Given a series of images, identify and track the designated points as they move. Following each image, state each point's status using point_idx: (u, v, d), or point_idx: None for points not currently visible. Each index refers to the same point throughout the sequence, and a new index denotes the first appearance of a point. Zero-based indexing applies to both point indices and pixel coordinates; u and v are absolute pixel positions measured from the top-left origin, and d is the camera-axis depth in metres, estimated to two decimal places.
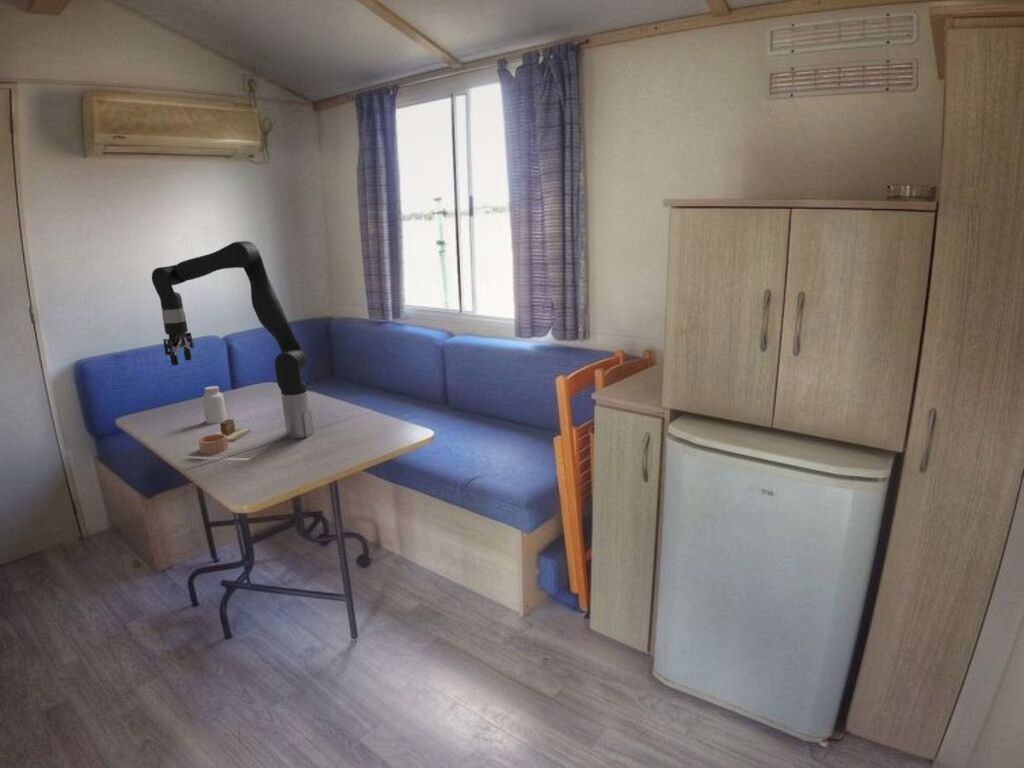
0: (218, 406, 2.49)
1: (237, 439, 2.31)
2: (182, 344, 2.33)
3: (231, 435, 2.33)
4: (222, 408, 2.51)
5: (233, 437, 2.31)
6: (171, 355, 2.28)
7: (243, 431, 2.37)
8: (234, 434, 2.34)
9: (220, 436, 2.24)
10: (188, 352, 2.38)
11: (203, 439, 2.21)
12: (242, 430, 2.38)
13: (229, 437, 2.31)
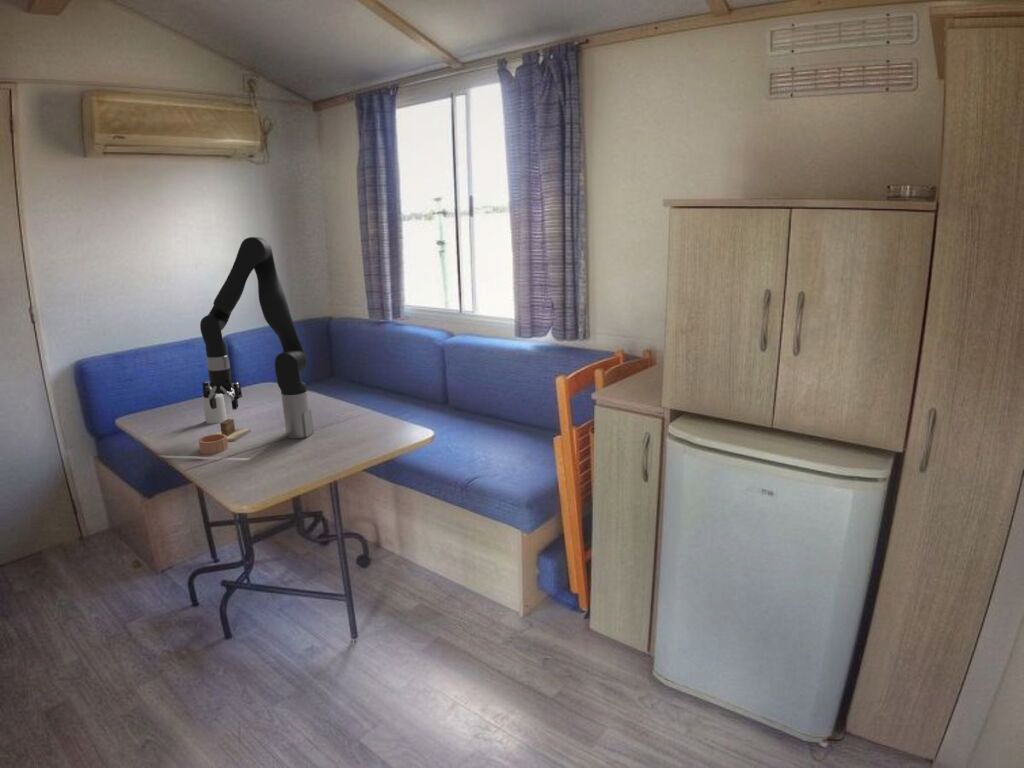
0: (218, 406, 2.49)
1: (237, 439, 2.31)
2: None
3: (231, 435, 2.33)
4: (222, 408, 2.51)
5: (233, 437, 2.31)
6: (237, 399, 2.31)
7: (243, 431, 2.37)
8: (234, 434, 2.34)
9: (220, 436, 2.24)
10: (215, 400, 2.33)
11: (203, 439, 2.21)
12: (242, 430, 2.38)
13: (229, 437, 2.31)
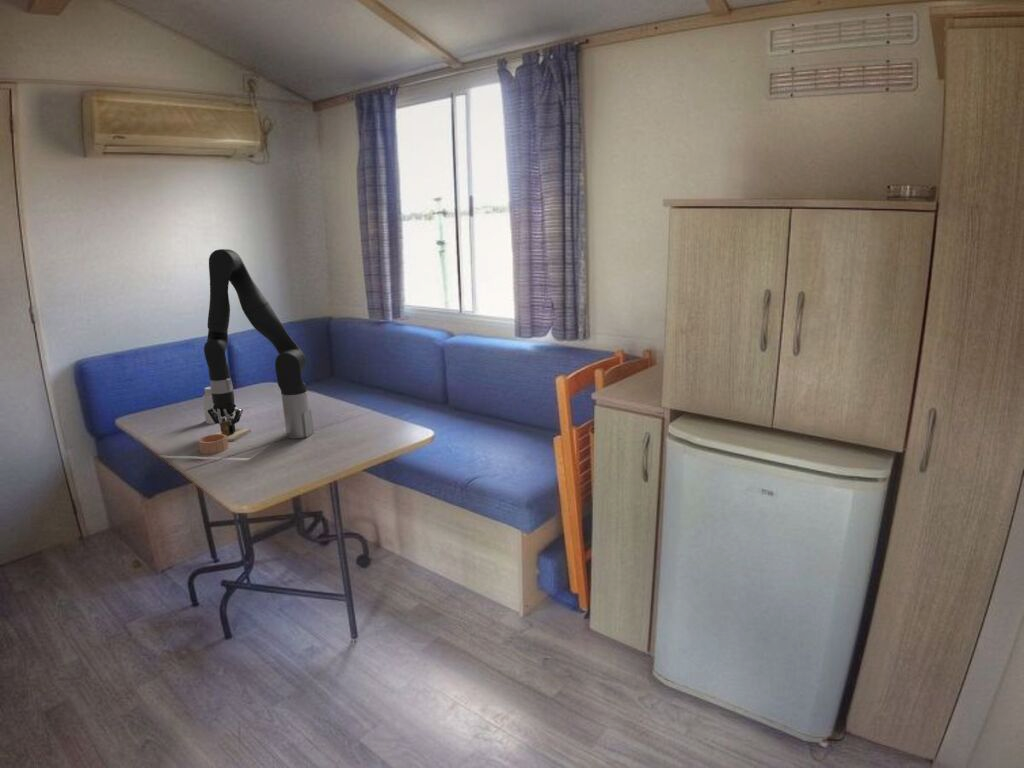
0: None
1: (237, 439, 2.31)
2: None
3: (231, 435, 2.33)
4: None
5: (233, 437, 2.31)
6: (234, 423, 2.34)
7: (243, 431, 2.37)
8: (234, 434, 2.34)
9: (220, 436, 2.24)
10: None
11: (203, 439, 2.21)
12: (242, 430, 2.38)
13: (229, 437, 2.31)
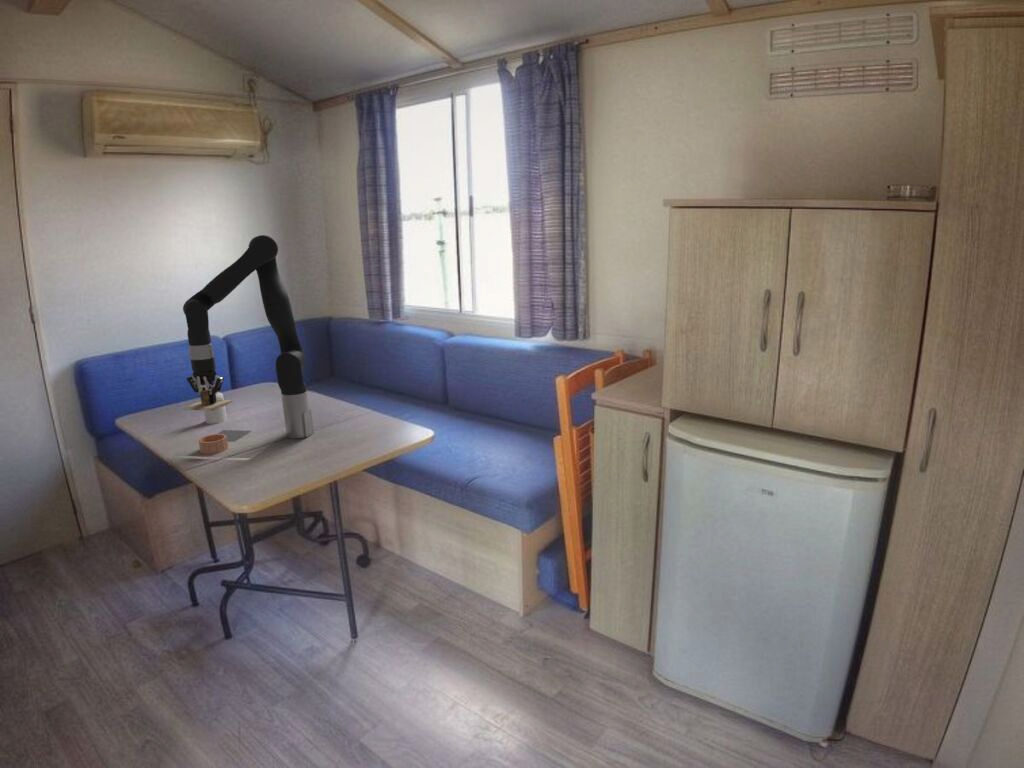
0: None
1: (237, 439, 2.31)
2: None
3: (211, 405, 2.17)
4: (222, 408, 2.51)
5: (213, 407, 2.15)
6: (214, 393, 2.18)
7: (225, 402, 2.21)
8: (215, 404, 2.18)
9: (220, 436, 2.24)
10: None
11: (203, 439, 2.21)
12: (224, 401, 2.23)
13: (209, 407, 2.15)
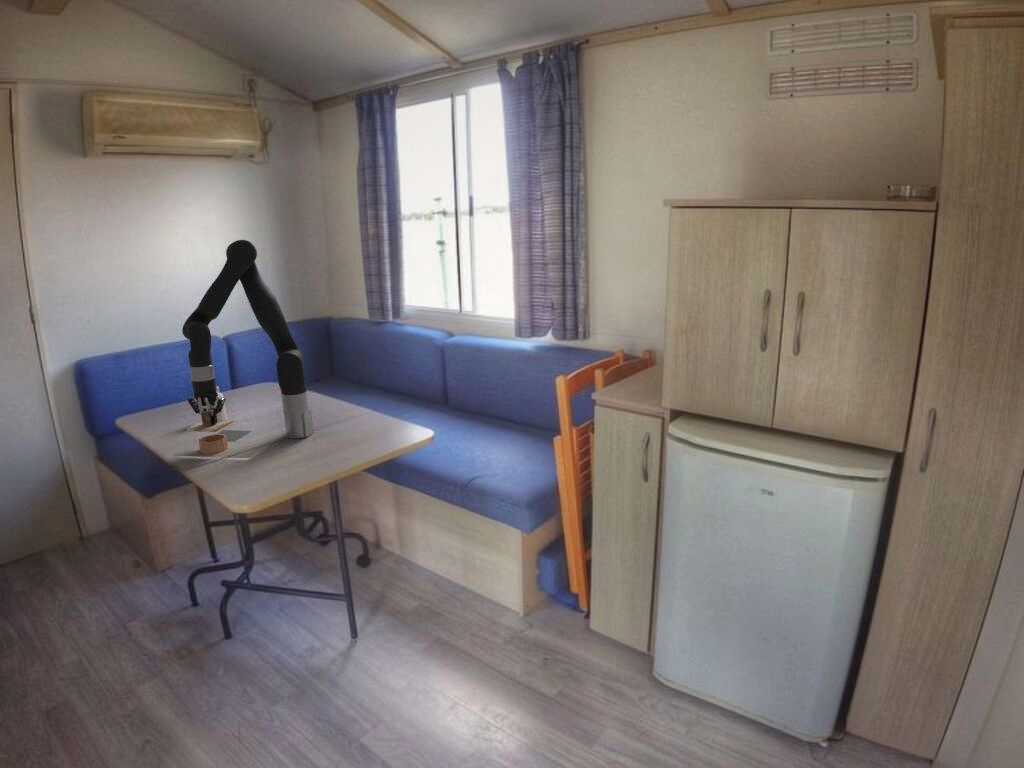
0: None
1: (237, 439, 2.31)
2: None
3: (212, 426, 2.17)
4: (222, 408, 2.51)
5: (215, 428, 2.15)
6: (216, 414, 2.18)
7: (226, 422, 2.21)
8: (216, 425, 2.18)
9: (220, 436, 2.24)
10: None
11: (203, 439, 2.21)
12: (225, 421, 2.22)
13: (211, 428, 2.15)
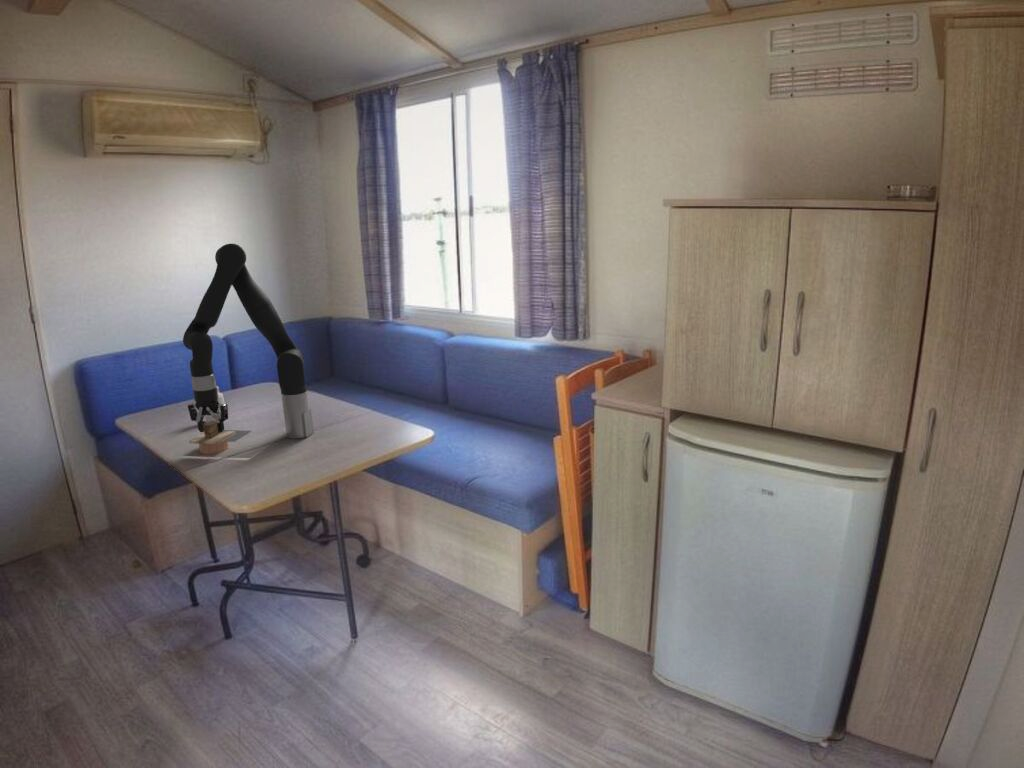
0: None
1: (237, 439, 2.31)
2: None
3: (215, 438, 2.18)
4: None
5: (217, 440, 2.16)
6: (222, 421, 2.18)
7: (228, 433, 2.22)
8: (218, 437, 2.19)
9: None
10: (203, 422, 2.20)
11: None
12: (227, 432, 2.23)
13: (213, 440, 2.16)
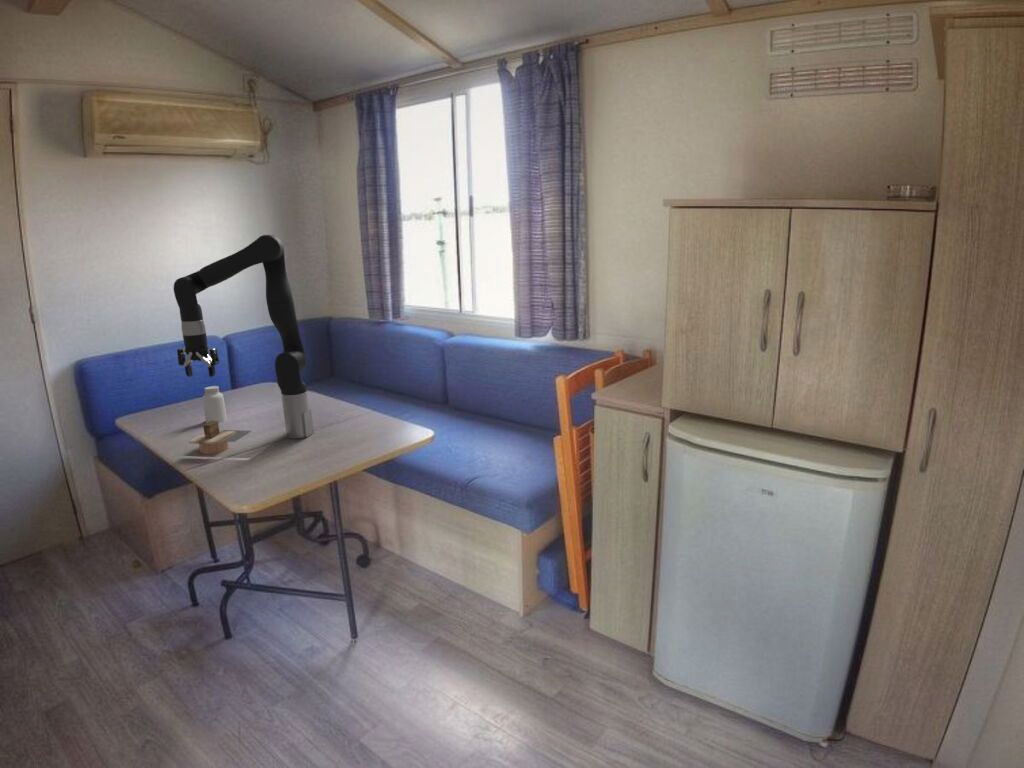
0: (218, 406, 2.49)
1: (237, 439, 2.31)
2: None
3: (215, 438, 2.18)
4: (222, 408, 2.51)
5: (217, 440, 2.16)
6: (213, 365, 2.23)
7: (228, 433, 2.22)
8: (218, 437, 2.19)
9: None
10: (190, 367, 2.25)
11: None
12: (227, 432, 2.23)
13: (213, 440, 2.16)
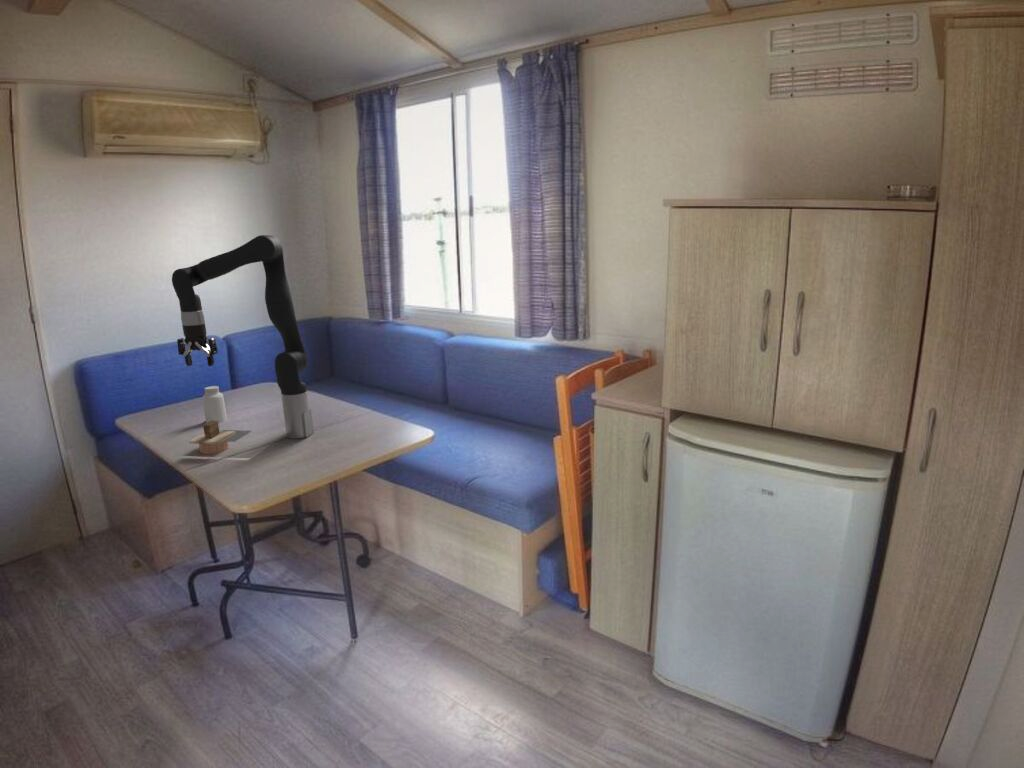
0: (218, 406, 2.49)
1: (237, 439, 2.31)
2: None
3: (215, 438, 2.18)
4: (222, 408, 2.51)
5: (217, 440, 2.16)
6: (212, 355, 2.28)
7: (228, 433, 2.22)
8: (218, 437, 2.19)
9: None
10: (190, 357, 2.30)
11: None
12: (227, 432, 2.23)
13: (213, 440, 2.16)
